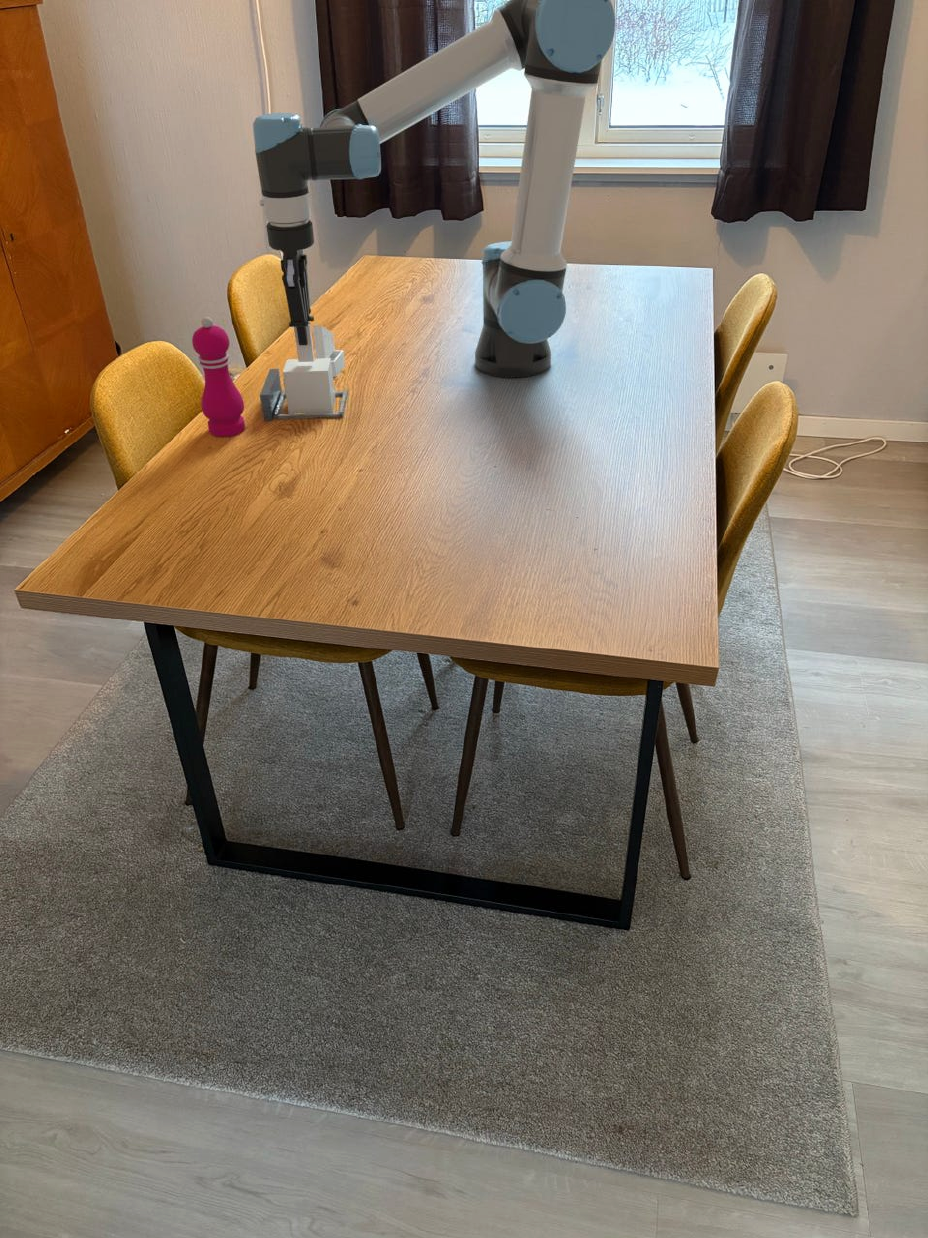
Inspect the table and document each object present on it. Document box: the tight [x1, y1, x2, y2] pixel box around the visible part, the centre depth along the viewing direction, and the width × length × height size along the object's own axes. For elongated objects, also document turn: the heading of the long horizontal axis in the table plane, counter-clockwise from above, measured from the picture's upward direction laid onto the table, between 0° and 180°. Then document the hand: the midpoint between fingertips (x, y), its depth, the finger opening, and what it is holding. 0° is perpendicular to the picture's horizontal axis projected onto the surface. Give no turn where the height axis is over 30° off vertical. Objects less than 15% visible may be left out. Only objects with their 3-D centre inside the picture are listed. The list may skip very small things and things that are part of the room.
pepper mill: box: [191, 316, 246, 438], centre depth 160 cm, size 7×7×20 cm
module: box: [282, 358, 336, 414], centre depth 170 cm, size 8×6×8 cm
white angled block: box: [312, 325, 346, 378], centre depth 184 cm, size 4×10×9 cm, turn 168°
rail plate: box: [259, 368, 349, 422], centre depth 171 cm, size 14×12×5 cm
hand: (306, 359), depth 168 cm, fingers closed
